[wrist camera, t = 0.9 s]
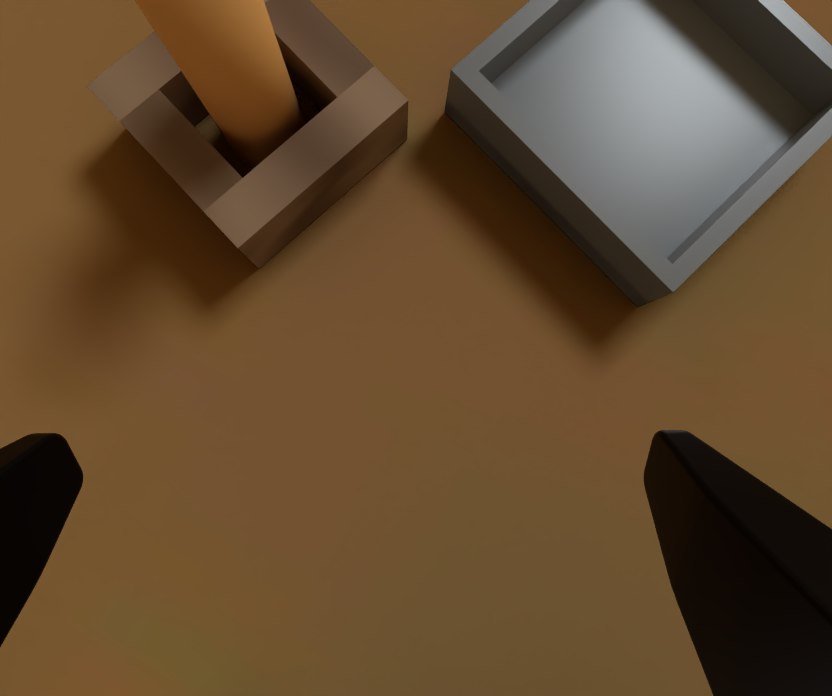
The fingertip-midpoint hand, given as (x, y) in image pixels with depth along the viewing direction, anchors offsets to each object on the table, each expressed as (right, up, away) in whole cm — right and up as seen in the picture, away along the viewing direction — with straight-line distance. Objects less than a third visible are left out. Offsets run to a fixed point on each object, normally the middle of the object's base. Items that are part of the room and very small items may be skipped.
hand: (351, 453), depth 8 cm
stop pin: (-6, +11, +15) cm, 20 cm away
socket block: (-6, +11, +15) cm, 20 cm away
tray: (+11, +12, +16) cm, 23 cm away
